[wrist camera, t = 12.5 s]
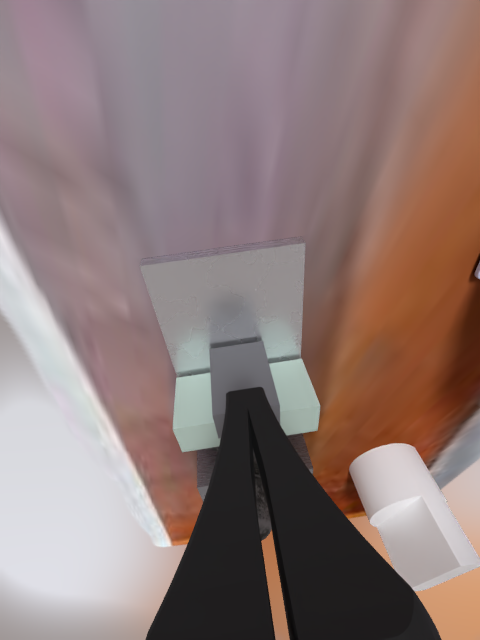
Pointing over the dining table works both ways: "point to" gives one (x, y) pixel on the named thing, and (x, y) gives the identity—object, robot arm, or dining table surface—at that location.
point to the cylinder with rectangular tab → (412, 516)
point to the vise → (229, 311)
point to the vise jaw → (235, 374)
